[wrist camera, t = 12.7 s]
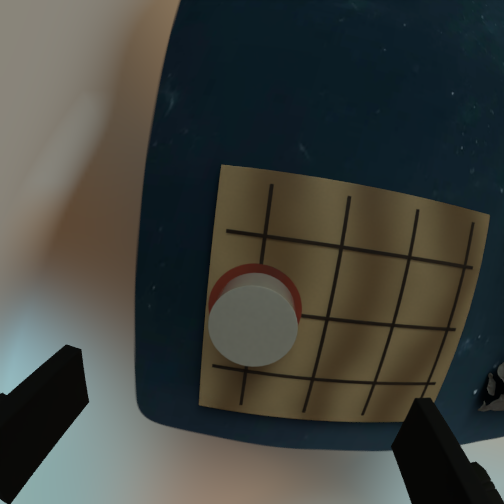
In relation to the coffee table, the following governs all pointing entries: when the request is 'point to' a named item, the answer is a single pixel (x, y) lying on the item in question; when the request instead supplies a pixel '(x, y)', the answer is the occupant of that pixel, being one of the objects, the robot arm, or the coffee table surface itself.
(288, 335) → the gray cylinder
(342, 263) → the board
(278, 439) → the coffee table surface
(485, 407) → the stone
